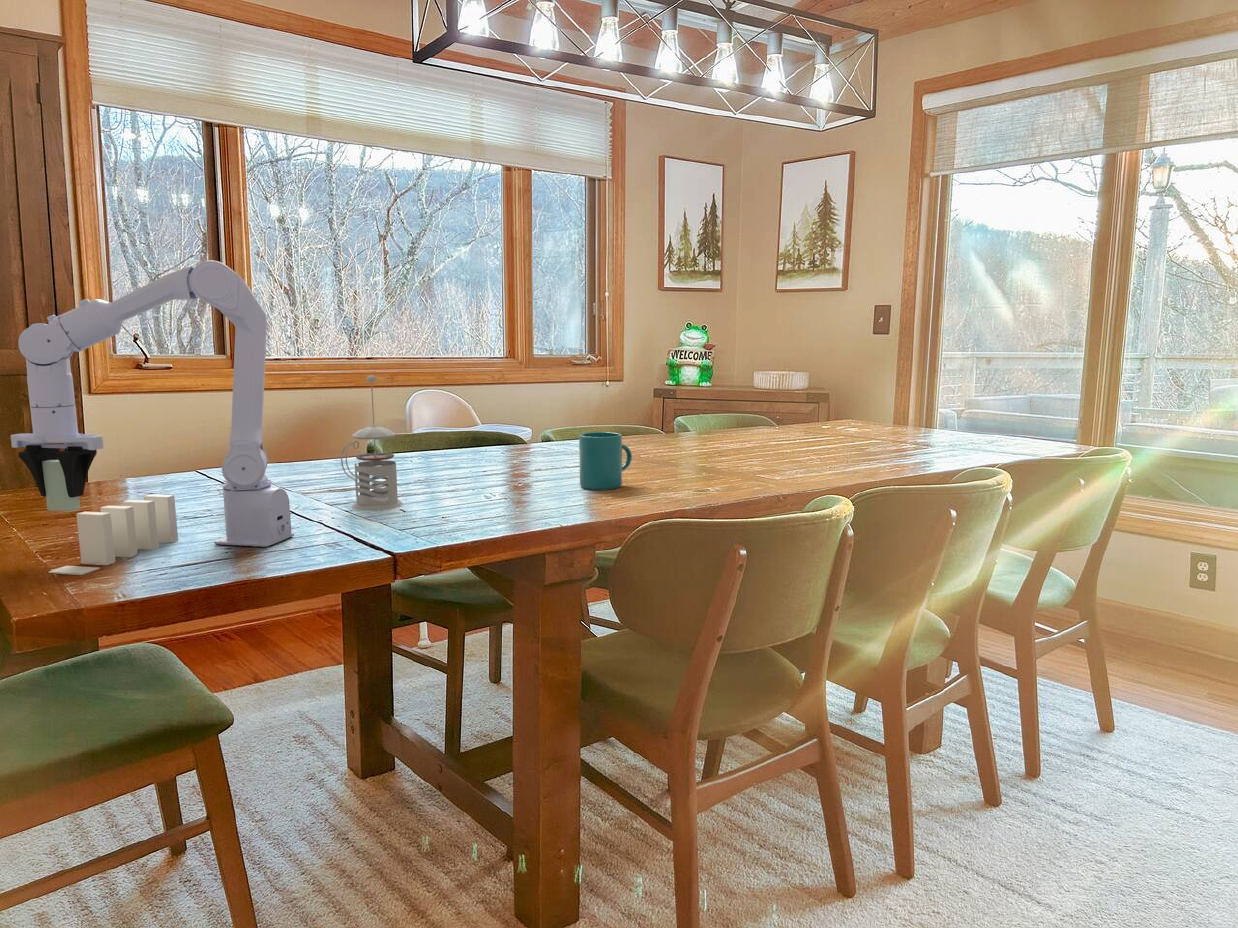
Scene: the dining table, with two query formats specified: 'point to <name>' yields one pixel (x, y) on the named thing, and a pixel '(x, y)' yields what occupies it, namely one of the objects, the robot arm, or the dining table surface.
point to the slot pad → (74, 570)
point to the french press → (374, 470)
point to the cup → (602, 460)
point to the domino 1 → (57, 488)
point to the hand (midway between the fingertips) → (62, 495)
